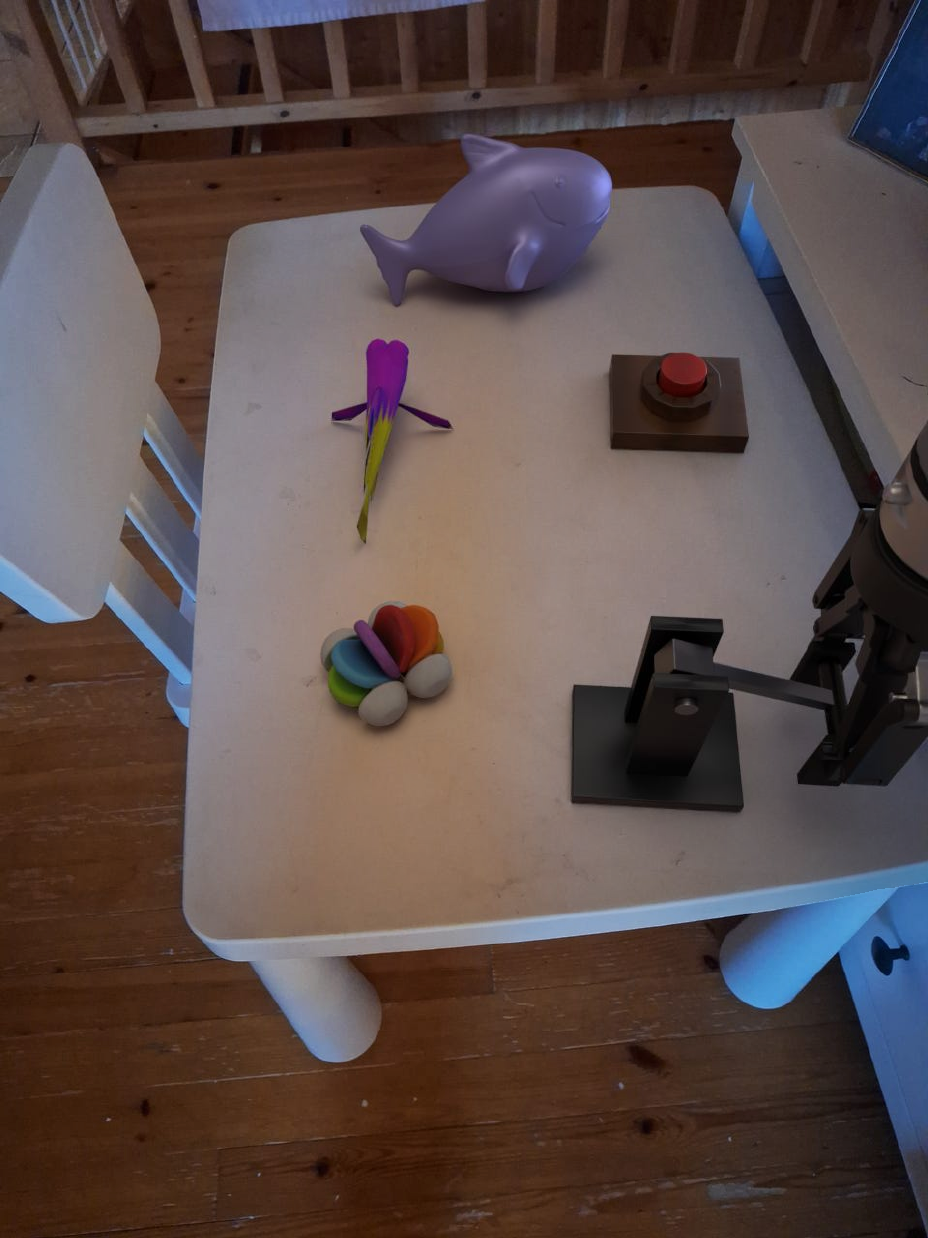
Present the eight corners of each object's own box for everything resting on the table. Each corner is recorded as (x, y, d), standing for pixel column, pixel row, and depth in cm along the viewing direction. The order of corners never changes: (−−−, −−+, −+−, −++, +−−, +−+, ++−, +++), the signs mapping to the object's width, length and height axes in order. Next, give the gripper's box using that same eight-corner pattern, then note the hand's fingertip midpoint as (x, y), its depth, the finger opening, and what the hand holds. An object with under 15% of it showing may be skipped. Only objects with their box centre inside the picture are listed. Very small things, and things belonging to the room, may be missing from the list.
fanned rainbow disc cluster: (470, 682, 70) (467, 635, 64) (363, 748, 68) (350, 705, 62) (411, 607, 74) (404, 555, 68) (309, 667, 72) (291, 619, 65)
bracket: (729, 699, 69) (782, 594, 56) (740, 813, 64) (799, 725, 52) (572, 691, 70) (589, 585, 57) (571, 803, 65) (589, 714, 52)
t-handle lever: (826, 671, 61) (849, 655, 59) (838, 753, 58) (864, 739, 56) (652, 629, 58) (671, 611, 56) (656, 713, 55) (675, 697, 53)
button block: (734, 374, 87) (744, 342, 84) (743, 453, 82) (754, 422, 78) (609, 371, 88) (613, 339, 84) (610, 448, 82) (615, 417, 79)
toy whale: (638, 282, 88) (616, 104, 78) (393, 353, 90) (342, 187, 80) (606, 243, 99) (583, 82, 89) (387, 307, 100) (341, 156, 91)
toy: (460, 379, 86) (452, 314, 76) (436, 567, 80) (424, 524, 71) (339, 371, 87) (317, 306, 77) (308, 557, 81) (279, 512, 72)
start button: (701, 367, 83) (705, 352, 81) (704, 399, 80) (708, 384, 79) (657, 366, 83) (660, 351, 81) (659, 397, 81) (662, 383, 79)
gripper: (845, 389, 48) (744, 616, 68) (911, 711, 38) (770, 867, 58) (990, 393, 48) (846, 620, 68) (1094, 720, 38) (890, 874, 58)
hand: (811, 734), depth 63 cm, fingers closed on t-handle lever, 6 cm apart
